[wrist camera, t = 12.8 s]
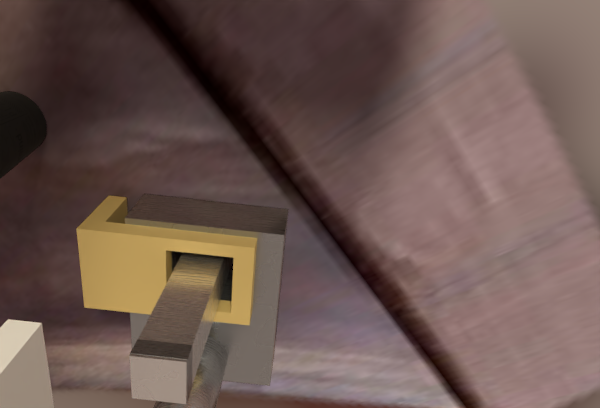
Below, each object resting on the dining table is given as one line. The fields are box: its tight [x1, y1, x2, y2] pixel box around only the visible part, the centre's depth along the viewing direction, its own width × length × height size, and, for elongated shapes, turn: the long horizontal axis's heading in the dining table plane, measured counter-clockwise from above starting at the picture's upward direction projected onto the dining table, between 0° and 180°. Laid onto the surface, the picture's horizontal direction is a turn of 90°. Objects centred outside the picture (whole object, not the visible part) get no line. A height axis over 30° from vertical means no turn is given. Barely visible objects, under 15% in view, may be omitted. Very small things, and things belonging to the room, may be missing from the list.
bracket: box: [76, 195, 257, 325], centre depth 40 cm, size 7×13×6 cm, turn 84°
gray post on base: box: [125, 194, 288, 408], centre depth 36 cm, size 15×12×18 cm
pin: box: [129, 252, 233, 404], centre depth 36 cm, size 3×3×16 cm
